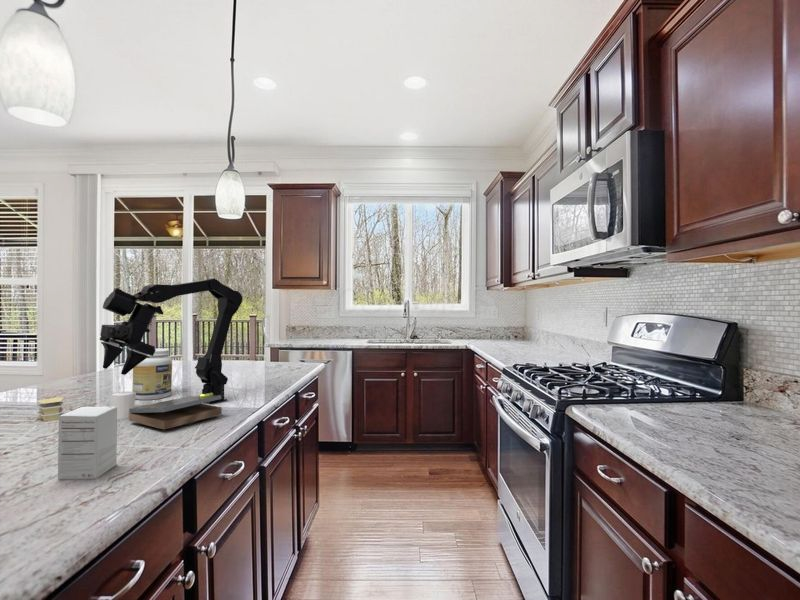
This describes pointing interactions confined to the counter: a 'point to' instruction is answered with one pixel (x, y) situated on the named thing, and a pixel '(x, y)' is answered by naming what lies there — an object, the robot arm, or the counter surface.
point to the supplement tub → (153, 376)
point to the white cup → (122, 403)
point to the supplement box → (87, 442)
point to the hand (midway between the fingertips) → (113, 371)
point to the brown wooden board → (176, 416)
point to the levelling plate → (175, 403)
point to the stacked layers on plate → (50, 408)
